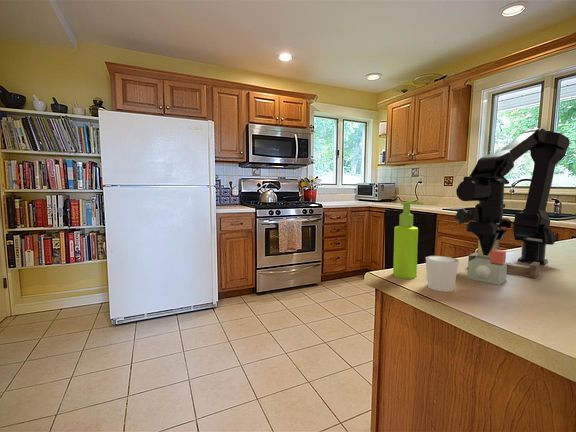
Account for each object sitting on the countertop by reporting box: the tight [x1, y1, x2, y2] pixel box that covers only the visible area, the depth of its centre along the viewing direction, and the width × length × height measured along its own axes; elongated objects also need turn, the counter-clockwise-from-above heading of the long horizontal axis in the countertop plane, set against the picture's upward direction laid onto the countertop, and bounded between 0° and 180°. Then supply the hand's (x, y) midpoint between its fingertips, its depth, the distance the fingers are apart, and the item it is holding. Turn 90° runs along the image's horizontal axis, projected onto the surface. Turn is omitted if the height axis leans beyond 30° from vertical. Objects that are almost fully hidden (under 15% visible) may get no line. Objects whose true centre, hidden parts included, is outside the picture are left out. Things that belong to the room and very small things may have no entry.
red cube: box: [490, 249, 507, 264], centre depth 72 cm, size 3×3×3 cm
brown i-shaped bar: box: [467, 252, 541, 279], centre depth 81 cm, size 15×5×3 cm, turn 40°
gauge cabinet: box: [467, 258, 508, 286], centre depth 74 cm, size 6×7×4 cm
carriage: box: [475, 239, 500, 260], centre depth 84 cm, size 5×5×8 cm
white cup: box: [425, 255, 460, 293], centre depth 68 cm, size 7×7×7 cm
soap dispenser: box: [392, 201, 424, 279], centre depth 77 cm, size 6×7×20 cm
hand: (488, 254), depth 84 cm, fingers closed on carriage, 4 cm apart
